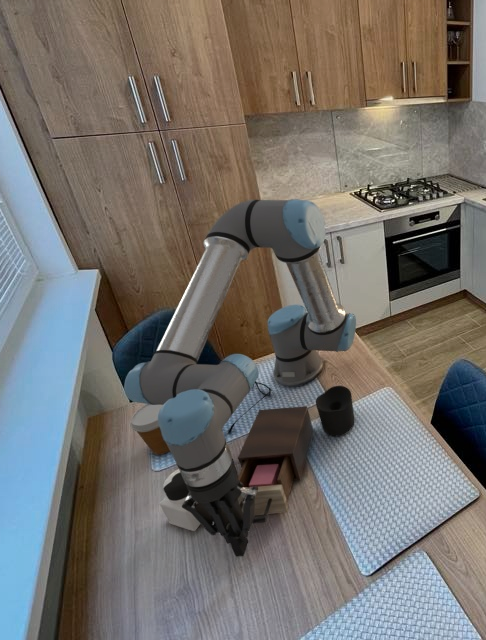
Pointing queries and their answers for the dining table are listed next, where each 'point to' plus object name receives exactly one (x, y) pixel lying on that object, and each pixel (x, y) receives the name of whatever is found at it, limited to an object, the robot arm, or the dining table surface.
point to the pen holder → (336, 410)
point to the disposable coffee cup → (149, 428)
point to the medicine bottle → (177, 502)
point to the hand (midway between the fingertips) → (242, 549)
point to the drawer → (268, 487)
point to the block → (265, 475)
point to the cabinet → (280, 436)
